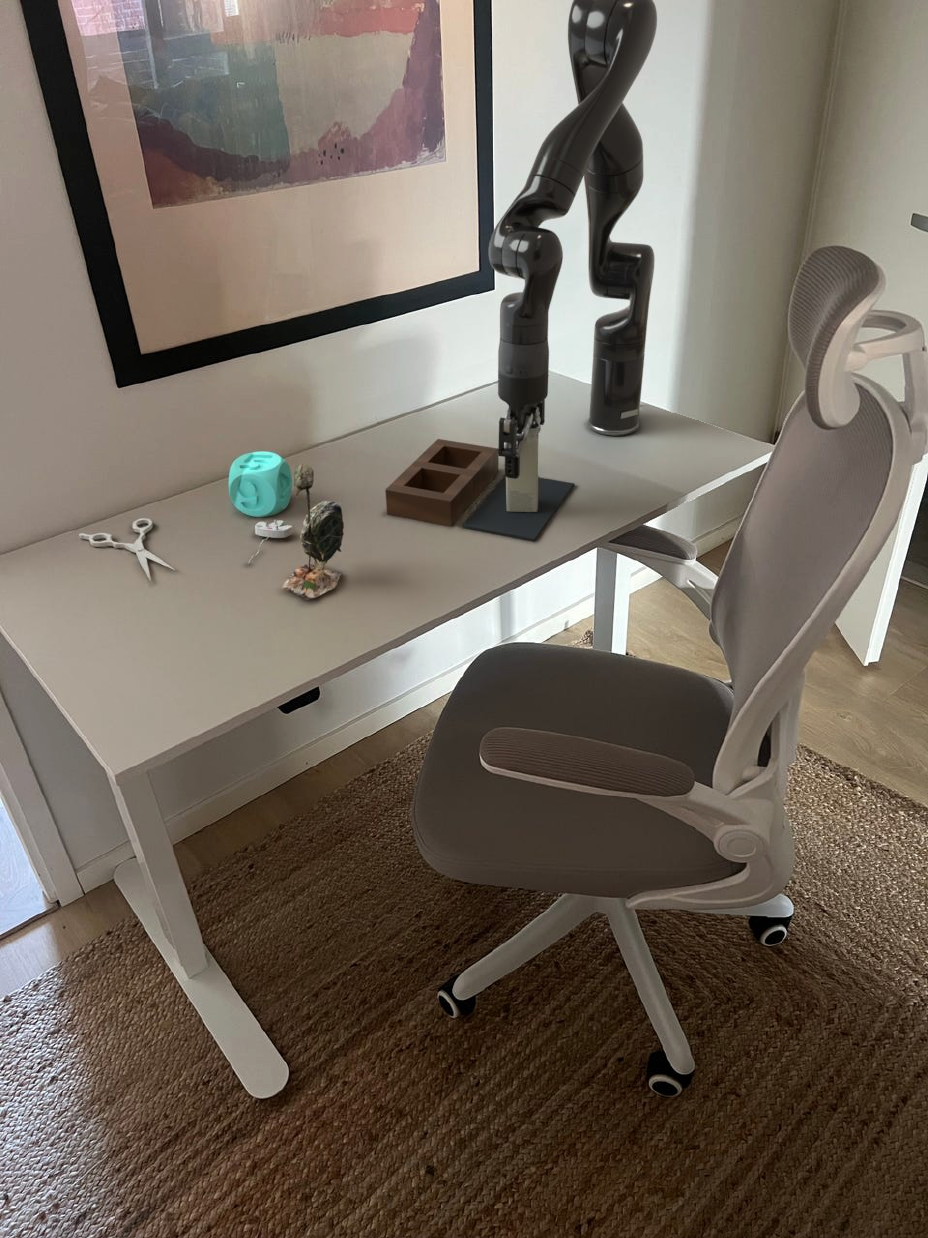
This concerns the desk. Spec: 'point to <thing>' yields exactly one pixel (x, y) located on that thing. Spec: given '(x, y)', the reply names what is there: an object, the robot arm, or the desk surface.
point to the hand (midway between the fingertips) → (521, 465)
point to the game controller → (272, 530)
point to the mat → (518, 524)
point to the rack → (442, 482)
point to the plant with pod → (316, 541)
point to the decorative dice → (260, 484)
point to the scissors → (135, 547)
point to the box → (525, 478)
